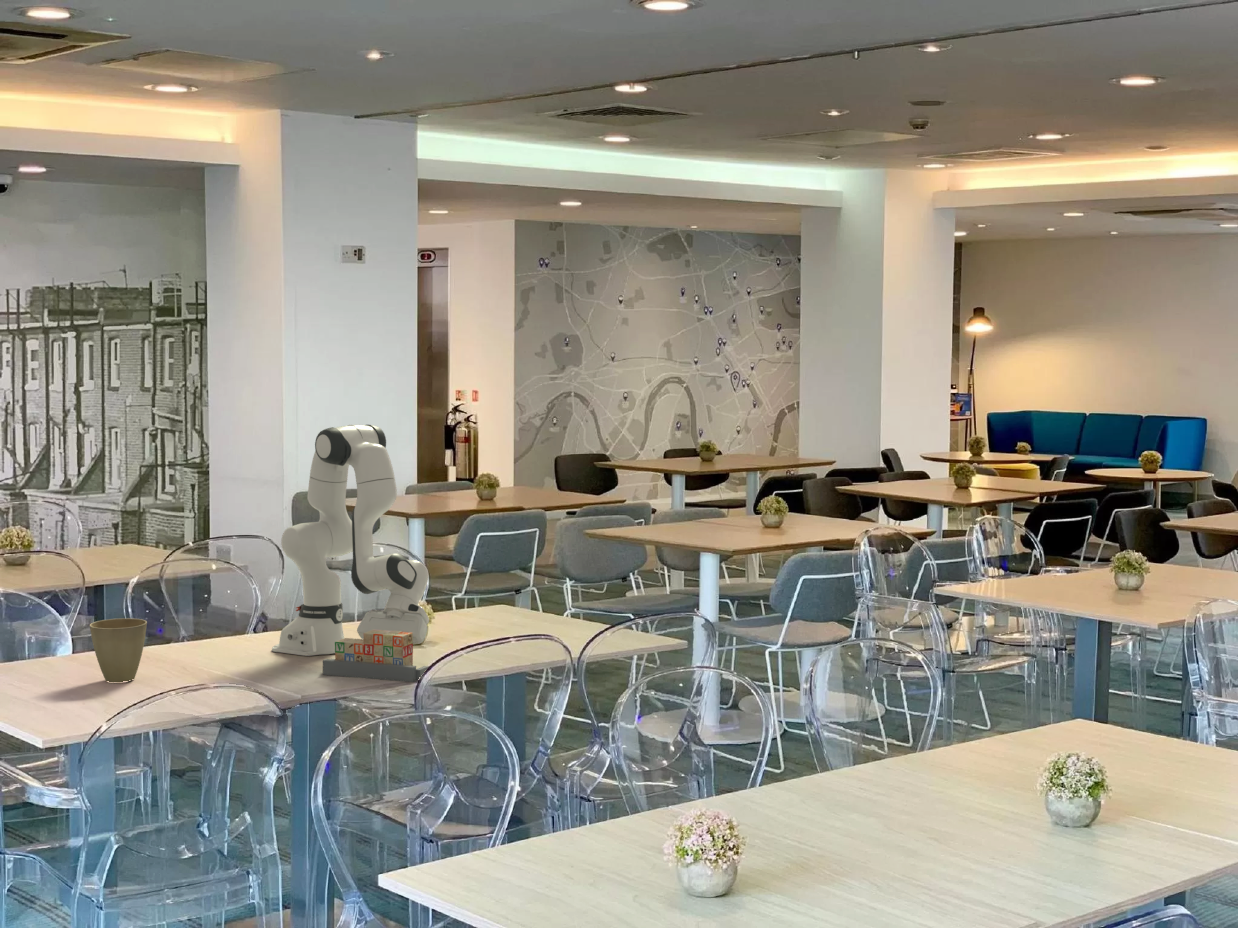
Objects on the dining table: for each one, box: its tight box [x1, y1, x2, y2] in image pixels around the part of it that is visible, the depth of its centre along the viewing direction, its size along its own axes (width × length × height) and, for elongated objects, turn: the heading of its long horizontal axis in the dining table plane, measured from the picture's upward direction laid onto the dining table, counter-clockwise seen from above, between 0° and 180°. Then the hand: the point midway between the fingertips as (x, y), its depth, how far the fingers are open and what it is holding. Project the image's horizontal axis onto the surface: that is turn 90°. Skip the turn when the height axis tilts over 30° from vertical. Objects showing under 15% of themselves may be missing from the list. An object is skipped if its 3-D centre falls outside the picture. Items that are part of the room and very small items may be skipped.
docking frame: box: [322, 658, 430, 683], centre depth 428 cm, size 30×7×4 cm, turn 70°
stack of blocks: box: [334, 629, 414, 666], centre depth 430 cm, size 21×6×12 cm, turn 70°
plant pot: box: [89, 617, 148, 682], centre depth 421 cm, size 15×15×16 cm
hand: (382, 651), depth 434 cm, fingers closed
